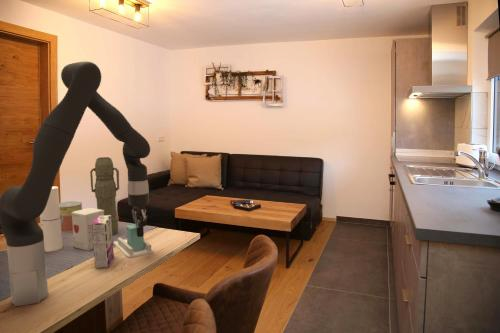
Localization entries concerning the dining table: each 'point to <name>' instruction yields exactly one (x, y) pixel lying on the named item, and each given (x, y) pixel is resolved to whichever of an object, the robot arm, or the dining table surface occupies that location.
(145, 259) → the dining table surface
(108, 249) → the candy bar box
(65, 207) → the canned food
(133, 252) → the chute
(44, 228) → the cylindrical container
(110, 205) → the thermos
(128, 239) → the block
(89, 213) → the supplement box
